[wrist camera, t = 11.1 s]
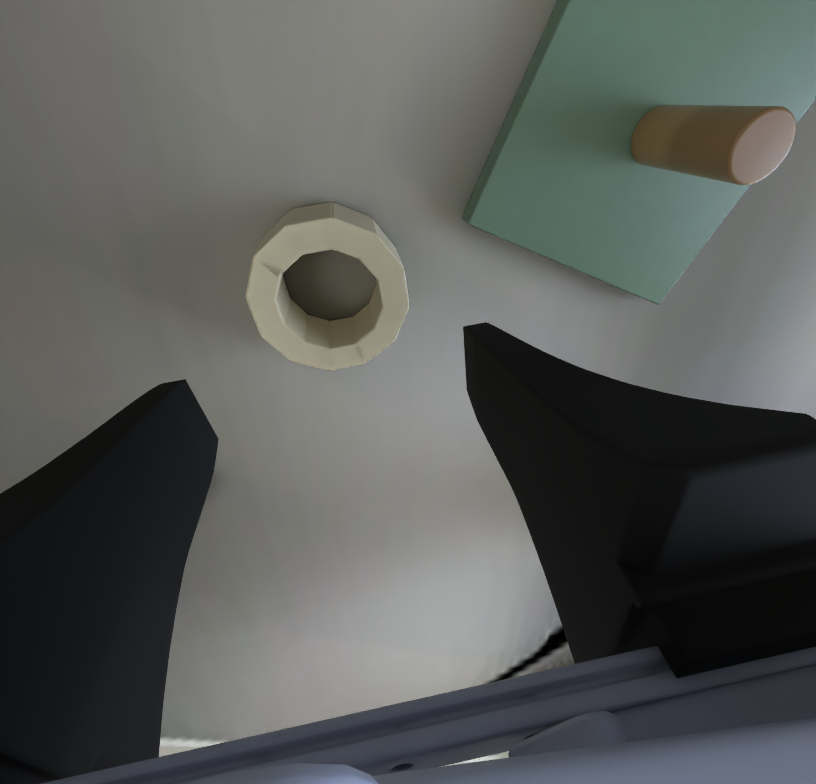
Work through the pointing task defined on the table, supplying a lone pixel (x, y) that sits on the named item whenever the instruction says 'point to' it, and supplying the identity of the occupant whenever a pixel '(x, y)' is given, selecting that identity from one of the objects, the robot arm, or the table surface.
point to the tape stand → (645, 131)
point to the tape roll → (315, 336)
